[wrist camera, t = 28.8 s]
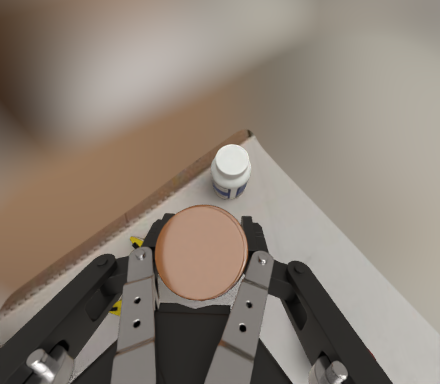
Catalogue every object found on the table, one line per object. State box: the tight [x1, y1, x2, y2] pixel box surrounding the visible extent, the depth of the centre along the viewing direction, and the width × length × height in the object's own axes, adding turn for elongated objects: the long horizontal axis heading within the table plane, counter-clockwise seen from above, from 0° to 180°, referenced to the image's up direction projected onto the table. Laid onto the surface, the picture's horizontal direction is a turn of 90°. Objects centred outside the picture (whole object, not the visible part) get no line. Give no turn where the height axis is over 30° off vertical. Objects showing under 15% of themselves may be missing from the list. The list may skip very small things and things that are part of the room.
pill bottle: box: [211, 144, 251, 200], centre depth 26 cm, size 5×5×10 cm
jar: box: [155, 205, 248, 301], centre depth 13 cm, size 5×5×10 cm
